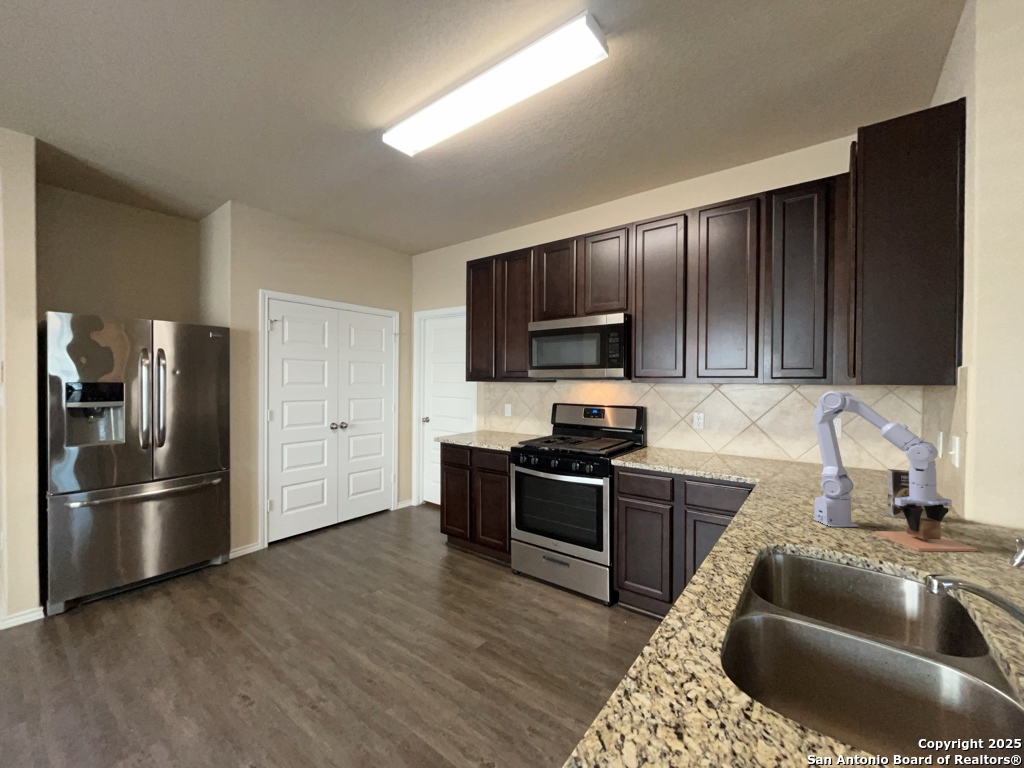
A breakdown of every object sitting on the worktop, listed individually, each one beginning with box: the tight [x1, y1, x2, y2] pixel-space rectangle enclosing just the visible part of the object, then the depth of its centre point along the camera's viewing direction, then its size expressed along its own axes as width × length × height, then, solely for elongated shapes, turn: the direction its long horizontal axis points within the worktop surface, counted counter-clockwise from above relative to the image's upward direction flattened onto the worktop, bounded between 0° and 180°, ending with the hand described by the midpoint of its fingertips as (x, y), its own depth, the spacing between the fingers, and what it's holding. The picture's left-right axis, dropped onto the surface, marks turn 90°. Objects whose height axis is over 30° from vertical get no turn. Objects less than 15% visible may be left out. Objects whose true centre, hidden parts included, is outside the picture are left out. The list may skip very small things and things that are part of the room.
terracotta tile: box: [874, 530, 979, 553], centre depth 121 cm, size 16×14×1 cm
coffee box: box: [886, 468, 927, 520], centre depth 146 cm, size 9×6×16 cm
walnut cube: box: [906, 517, 942, 539], centre depth 121 cm, size 5×5×5 cm
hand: (923, 530), depth 121 cm, fingers closed on walnut cube, 5 cm apart
